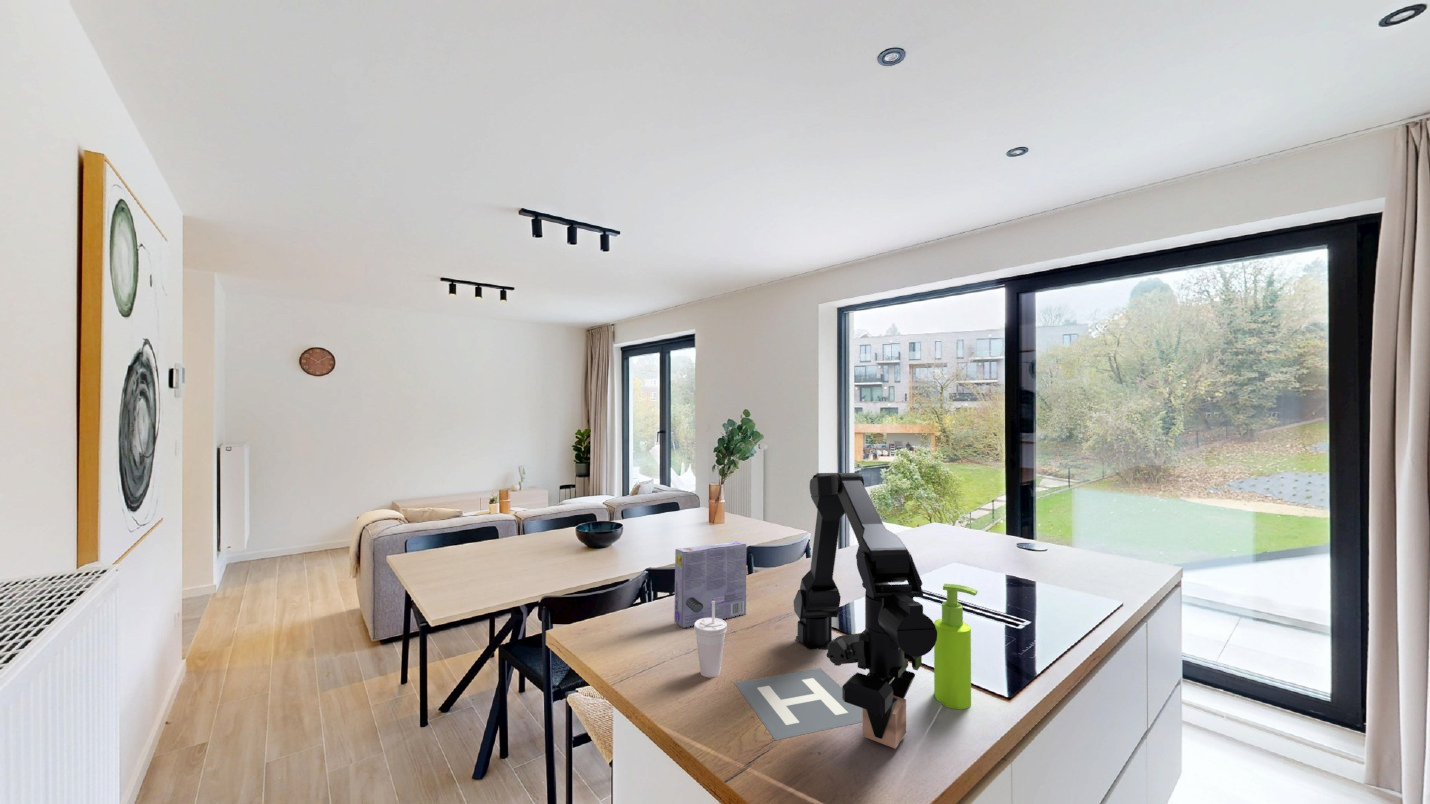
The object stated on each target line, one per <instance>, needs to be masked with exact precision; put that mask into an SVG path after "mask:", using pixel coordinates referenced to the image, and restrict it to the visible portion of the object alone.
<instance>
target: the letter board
mask: <svg viewBox="0 0 1430 804" xmlns="http://www.w3.org/2000/svg"><path fill="white" fill-rule="evenodd" d="M733 683H734V685H735V686H736V688H737V689H738V690H739V692H740V693H741V695H742V696H743V698H745V700H746V702H747V703H748V705H749V706H750V707H751V708H752V710H753V711H754V713H755V714H756V715H757V717H758V719H759V720H760V721H761V723H762V724H763V725H764V727H765V728H766V729H767V731H768V733H769V734H770V736H771V737H772V738H773V740H775V741H779V740H784V739H788V738H794V737H798V736H803V735H808V734H811V733H818V732H822V731H827V730H832V729H836V728H837V729H838V728H841V727H842V728H843V727H846V726H851V725H855V724H862V723H863V708H861V707H858V706H855V705H852V704H849V703H847V702H844V700H843V699H842V686H841V685H839V683H837V682H836V681H835V680H834V679H833V678H832V677H831V676H830V674H829V675H828V673H827V672H825V670H823V669H822V668H821V667H819V668H812V669H806V670H801V671H795V672H789V673H784V674H783V673H782V674H777V675H771V676H765V677H759V678H754V679H747V680H742V681H741V680H740V681H736V682H735V681H734V682H733Z"/></svg>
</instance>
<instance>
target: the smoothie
mask: <svg viewBox="0 0 1430 804" xmlns="http://www.w3.org/2000/svg"><path fill="white" fill-rule="evenodd" d="M727 625H728V623H727V622H726V621H725V619H724V620H722V619H719V618H715V601H712V618H702V619H699V620H697V621H696V622H695V623H694V626H693V630H694V632H695V636H696V637H695V638H696V646H697V654H698V662H699V670H700V671H699V672H700V675H701V676H703V677H705V678H715V677H719V675H720V674H721V667H722V661H723V654H724V653H723V652H724V643H725V636H726V632H727V630H728V626H727Z"/></svg>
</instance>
